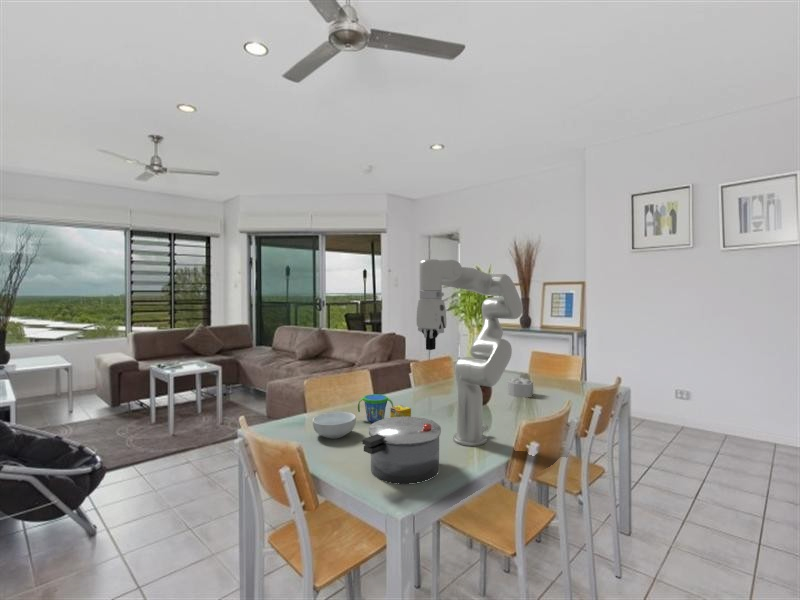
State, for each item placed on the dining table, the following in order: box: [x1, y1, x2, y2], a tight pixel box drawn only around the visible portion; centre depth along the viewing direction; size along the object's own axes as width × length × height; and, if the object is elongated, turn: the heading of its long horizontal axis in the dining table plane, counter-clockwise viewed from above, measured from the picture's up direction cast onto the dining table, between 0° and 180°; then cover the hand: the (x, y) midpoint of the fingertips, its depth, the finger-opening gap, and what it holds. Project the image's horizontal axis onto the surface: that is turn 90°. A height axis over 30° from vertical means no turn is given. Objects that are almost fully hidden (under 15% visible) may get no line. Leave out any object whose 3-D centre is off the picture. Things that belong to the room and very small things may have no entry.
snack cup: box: [357, 393, 394, 423], centre depth 184 cm, size 16×10×10 cm
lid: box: [361, 416, 442, 447], centre depth 133 cm, size 29×23×3 cm
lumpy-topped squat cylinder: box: [507, 377, 534, 399], centre depth 226 cm, size 10×13×9 cm
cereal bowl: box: [312, 411, 357, 440], centre depth 165 cm, size 17×17×7 cm
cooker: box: [363, 436, 440, 485], centre depth 134 cm, size 29×22×12 cm
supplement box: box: [389, 404, 412, 418], centre depth 165 cm, size 6×6×11 cm
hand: (430, 349), depth 143 cm, fingers closed
